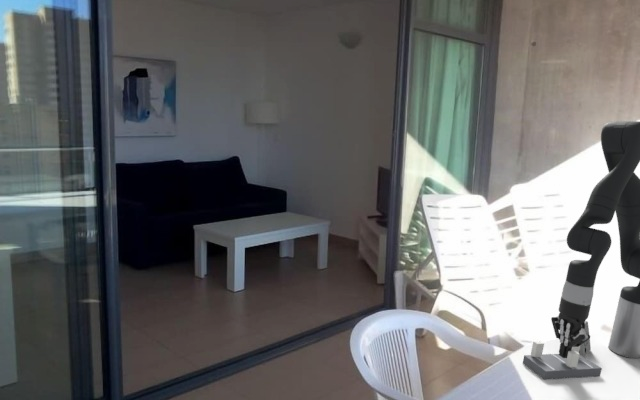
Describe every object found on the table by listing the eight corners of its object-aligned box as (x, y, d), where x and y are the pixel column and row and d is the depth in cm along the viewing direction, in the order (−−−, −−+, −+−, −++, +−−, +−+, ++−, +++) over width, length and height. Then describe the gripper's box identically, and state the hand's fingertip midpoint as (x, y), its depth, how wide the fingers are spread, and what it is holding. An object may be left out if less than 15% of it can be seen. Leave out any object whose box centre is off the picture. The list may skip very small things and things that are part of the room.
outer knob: (537, 354, 155) (540, 341, 154) (541, 356, 154) (544, 343, 153) (530, 354, 154) (533, 341, 154) (534, 357, 153) (537, 343, 152)
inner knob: (574, 352, 159) (577, 339, 158) (578, 355, 158) (581, 342, 157) (567, 352, 158) (570, 340, 158) (571, 355, 157) (574, 342, 156)
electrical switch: (583, 360, 162) (586, 329, 161) (564, 355, 165) (567, 325, 164) (590, 351, 169) (593, 322, 168) (573, 346, 172) (575, 318, 171)
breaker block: (576, 360, 161) (578, 352, 160) (599, 376, 152) (601, 367, 152) (522, 363, 155) (524, 354, 154) (544, 379, 146) (546, 371, 146)
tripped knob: (572, 364, 151) (575, 350, 150) (576, 367, 150) (579, 353, 149) (565, 364, 150) (568, 351, 150) (569, 367, 149) (572, 354, 148)
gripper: (548, 289, 154) (537, 346, 158) (583, 308, 142) (569, 369, 145) (570, 289, 157) (558, 345, 160) (605, 308, 144) (592, 368, 148)
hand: (563, 356), depth 153 cm, fingers closed
